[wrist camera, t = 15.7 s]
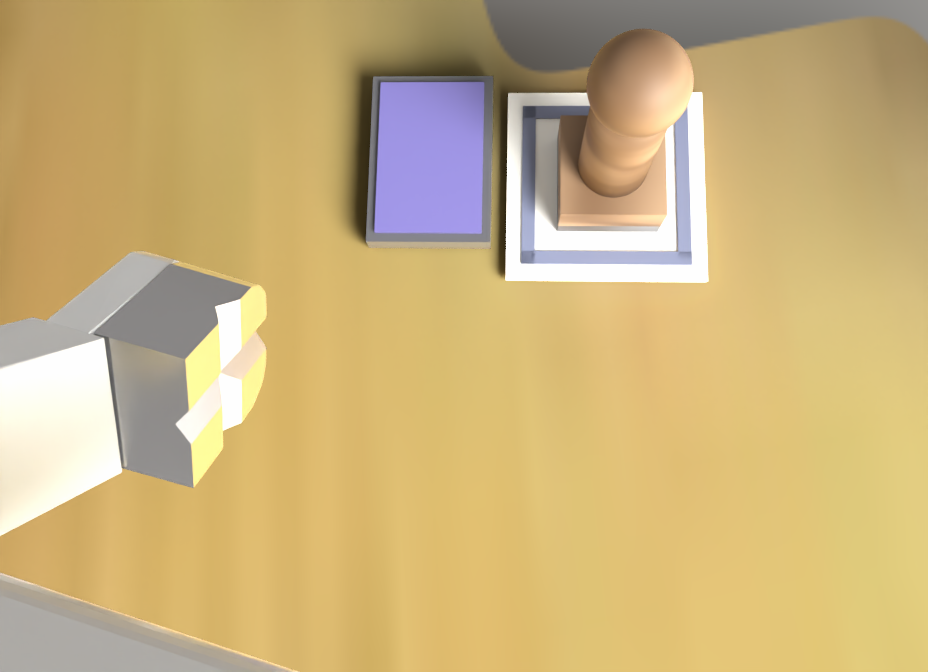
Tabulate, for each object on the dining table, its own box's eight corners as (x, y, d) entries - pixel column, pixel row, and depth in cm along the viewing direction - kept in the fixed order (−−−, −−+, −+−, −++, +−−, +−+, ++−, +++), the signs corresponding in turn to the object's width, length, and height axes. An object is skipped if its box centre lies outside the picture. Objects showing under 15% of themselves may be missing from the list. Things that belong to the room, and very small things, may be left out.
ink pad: (493, 86, 40) (493, 73, 38) (490, 248, 38) (490, 240, 37) (376, 86, 40) (372, 74, 39) (369, 247, 38) (365, 240, 37)
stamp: (655, 137, 38) (716, -7, 27) (657, 232, 38) (721, 123, 26) (557, 138, 39) (577, -5, 27) (557, 231, 38) (578, 123, 27)
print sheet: (700, 95, 39) (702, 91, 39) (706, 282, 37) (708, 280, 37) (508, 95, 39) (507, 91, 39) (505, 280, 38) (505, 278, 37)
